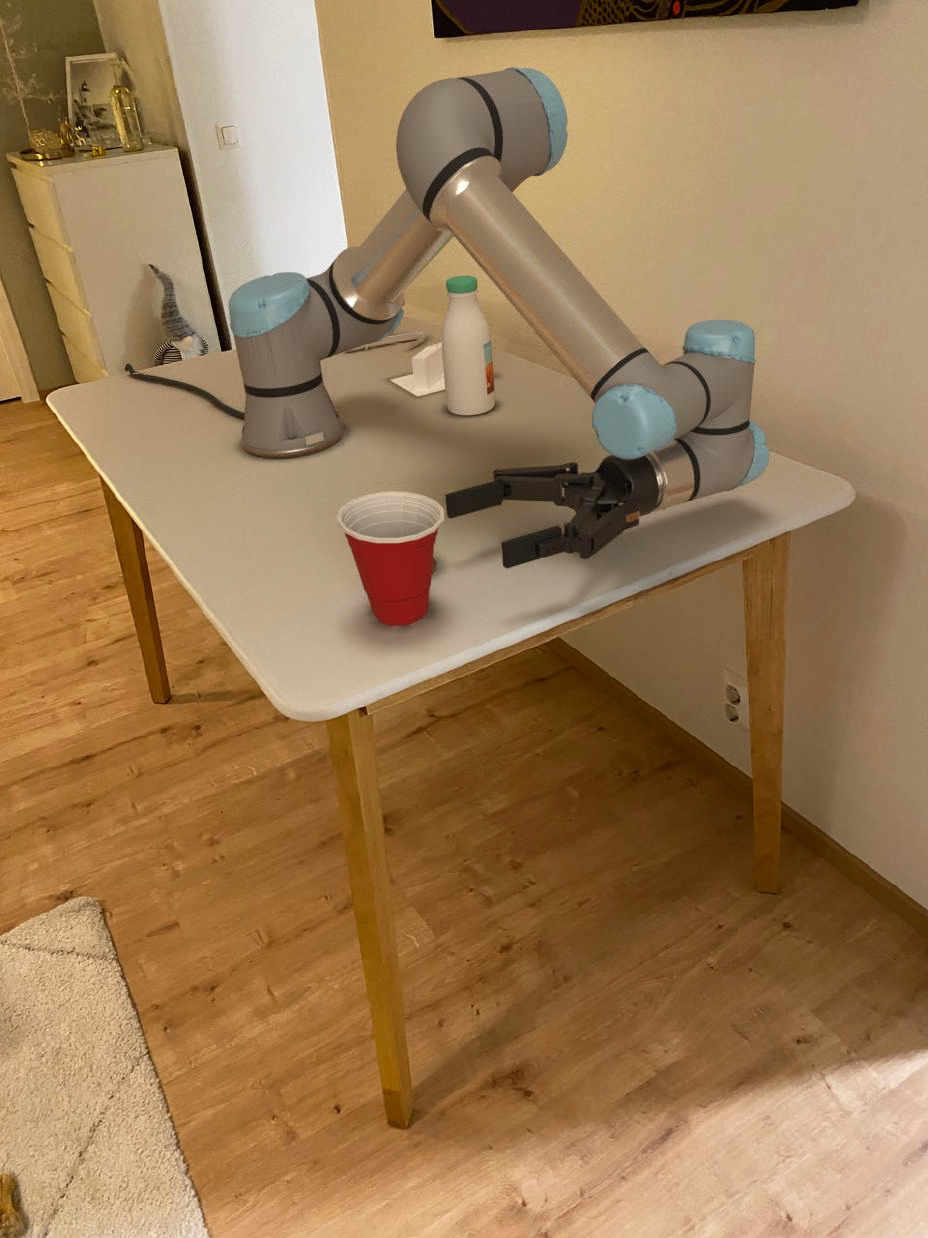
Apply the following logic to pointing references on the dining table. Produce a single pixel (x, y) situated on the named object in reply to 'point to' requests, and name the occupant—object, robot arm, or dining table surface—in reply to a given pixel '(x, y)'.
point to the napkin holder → (425, 372)
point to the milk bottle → (466, 351)
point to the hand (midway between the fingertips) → (473, 529)
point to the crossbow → (400, 338)
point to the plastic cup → (393, 551)
